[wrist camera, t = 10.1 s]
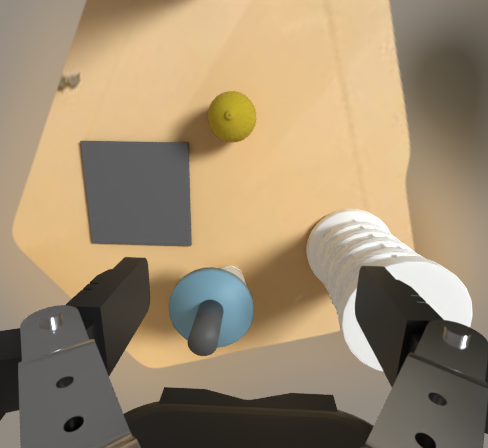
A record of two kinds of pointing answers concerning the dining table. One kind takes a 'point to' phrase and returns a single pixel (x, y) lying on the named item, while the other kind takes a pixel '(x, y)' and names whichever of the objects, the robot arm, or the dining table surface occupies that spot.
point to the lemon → (232, 116)
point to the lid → (211, 309)
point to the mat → (138, 192)
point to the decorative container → (377, 254)
